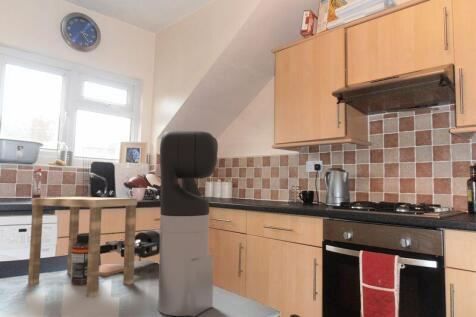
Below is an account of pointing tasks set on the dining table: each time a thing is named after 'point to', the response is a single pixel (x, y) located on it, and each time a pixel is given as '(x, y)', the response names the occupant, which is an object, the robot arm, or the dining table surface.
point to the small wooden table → (94, 235)
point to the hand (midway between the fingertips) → (109, 251)
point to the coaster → (110, 269)
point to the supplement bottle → (80, 260)
